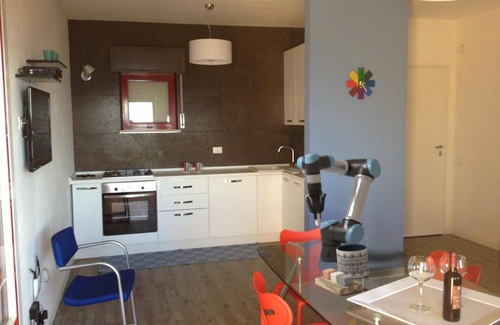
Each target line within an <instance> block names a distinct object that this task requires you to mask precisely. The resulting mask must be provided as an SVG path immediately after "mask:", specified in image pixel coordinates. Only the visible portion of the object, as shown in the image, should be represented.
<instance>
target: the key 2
mask: <svg viewBox="0 0 500 325" xmlns="http://www.w3.org/2000/svg"><path fill="white" fill-rule="evenodd" d="M338 278H339V285H341V286H343V287H348V286H352V285H354V279H353V277H352V276H350V275H343V276H339V277H338Z"/></svg>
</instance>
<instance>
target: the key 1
mask: <svg viewBox="0 0 500 325" xmlns="http://www.w3.org/2000/svg"><path fill="white" fill-rule="evenodd" d="M334 272H338V270H336V269H333V268H326V269H324V270H322V277H323V278H325V279H327V280H331V275H330V274H331V273H334Z"/></svg>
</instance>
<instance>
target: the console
mask: <svg viewBox="0 0 500 325" xmlns="http://www.w3.org/2000/svg"><path fill="white" fill-rule="evenodd" d="M353 280H354V279H353ZM314 282H315V285H317V286H319V287H321V288H323V289H325V290H327V291H329V292H332V293H334V294H335V295H337V296H344V295H349V294H352V293H357V292H360V291H363V290H364V284H363V282H359V281H357V280H354V285H352V286H348V287H343V286H341V285H339V283H337V284H336V283H334V282H332V281H331V280H327V279H325V278H323V276H320V277H319V276H318V277H315V278H314Z"/></svg>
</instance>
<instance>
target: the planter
mask: <svg viewBox="0 0 500 325" xmlns="http://www.w3.org/2000/svg"><path fill="white" fill-rule="evenodd" d="M336 251H337V261H336V262H337V272H338V271H339V272H342V273H344V274H345V275H350V276H352V277H353V280H354V279H361V278H365V277H367V276H369V274H370V269H369V268H370V266H369V256H368V254H369V253H368V246H367V245H364V244H359V243H358V244H341V246H339V247H337V248H336Z"/></svg>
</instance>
